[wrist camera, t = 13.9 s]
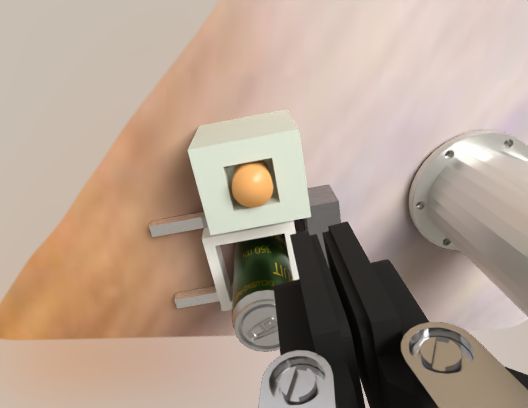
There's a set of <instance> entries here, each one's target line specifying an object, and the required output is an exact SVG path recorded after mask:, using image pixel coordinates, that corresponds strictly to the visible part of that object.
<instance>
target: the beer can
mask: <svg viewBox="0 0 528 408" xmlns="http://www.w3.org/2000/svg"><path fill="white" fill-rule="evenodd" d="M289 281H293V275H292V270H291V266H290V261H289V256H288V251H287V247H286V243H285V241H284V239H283V237H282V236H281V235H280V234H278V235H273V236H267V237H262V238H257V239H251V240H246V241H240V242H236V244H235V249H234V273H233V299H232V322H233V327H234V328H235V333H236V336H237V338H238V339H239V341H240V342H241V343H242V344H244V345H245V346H246V347H248V348H250V349H253V350H255V351H263V352H268V351H276V350H278V349H280V344H279V335H278V325H277V316H276V307H275V297H274V285H276V284H280V283H284V282H289Z"/></svg>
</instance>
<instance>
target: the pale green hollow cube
mask: <svg viewBox="0 0 528 408" xmlns="http://www.w3.org/2000/svg"><path fill="white" fill-rule="evenodd" d="M187 151H188V154H189V158H190V162H191V165H192V169H193V173H194V176H195V180H196V184H197V187H198V191H199V195H200V198H201V202H202V206H203V209H204V213H205V217H206V220H207V224H208V228H209V231H210V235H216V234H221V233H227V232H232V231H238V230H243V229H248V228H254V227H259V226H265V225H270V224H276V223H281V222H287V221H292V220H298V219H303V218H309V217H311V211H310V204H309V197H308V190H307V183H306V175H305V168H304V161H303V154H302V147H301V140H300V133H299V128H298V127H297V125H296V123H295V122H294V120H293V118H292V117H291V115H290V114H289V112H288V110H287V109H284V110H279V111H274V112H268V113H263V114H258V115H253V116H247V117H242V118H237V119H232V120H226V121H221V122H216V123H211V124H205V125H200V126H199V127H198V129H197V132H196V134H195V136H194V138H193V140H192V142H191V144H190V146H189V148H188V150H187ZM258 160H260V161H262V162H264V163H265V164H266V165H267V166H268V168H269V170H270V173H271V178H272V183H273V193H272V196H271V198H270V199H269V200H268V201H267V202H266V203H265V204H263V205H262V206H259V207H246V206H243V205H241V204H240V203H239V202H237V201H236V199H235V198H234V196H233V193H232V178H233V171H234V169H235V167H236V166H237V165H238V164H242V163H247V162H252V161H258Z"/></svg>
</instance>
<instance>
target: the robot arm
mask: <svg viewBox="0 0 528 408" xmlns="http://www.w3.org/2000/svg"><path fill="white" fill-rule="evenodd" d="M446 152H447V153H446ZM445 153H446V154H445ZM409 211H410V216H411V218H412V221H413V223H414V225H415V227H416V228H417V229H418V230H419V232H420V233H421V234H422V235H423V236H424V237H425V238H426V239H427V240H428V241H430V242H432V243H433V244H435V245H437V246H439V247H442V248H445V249H451V250H460V251H461V252H462V253H463V254H464V255H465V256H466V257H467V258H468V259H469V260H470V261H471V262H472V263H474V264H475V265H476V266H477V267H478V268H479V269H480V270H481V271H482V272H483V273H484V274H485V275H486V276H487V277H488V278H489V279H490V280H491V281H492V282H493V283H494V284H495V285H496V286H497V287H498V288H499V289H500V290H501V291H502V292H503V293H504V294H505V295H506V296H507V297H508V298H509V299H510V300H511V301H512V302H513V303H514V304H515V305H516V306H517V307H518V308H519V309H520V310H521V311H522V312H523V313H525V314H526V315H527V316H528V145H527V144H526V143H525V142H523V141H522V140H520V139H518V138H517V137H515V136H512V135H510V134H507V133H504V132H500V131H495V130H478V131H473V132H468V133H465V134H462V135H460V136H457V137H455V138H453V139H451V140H449V141H448V142H446V143H444V144H443V145H441V146H440V147H439V148H438V149H436V150H435V151H434V152H433V153H432V154H431V155H430V156H429V157H428V158H427V159H426V160H425V161H424V163H423V164H422V166H421V167H420V169H419V170H418V172H417V173H416V176H415V178H414V180H413V182H412V185H411V189H410V194H409ZM328 229H329V231H327V232H322V235H323V240H324V245H325V250H326V255H327V260H328V264H327V261H326V259H325V256H324V253H323V250H322V247H321V245H320V242H319V239H318V236H317V234H314V235H309V232H308V231H304V232H300V233H296V234H292V235H290V238H291V243H292V247H293V252H294V256H295V261H296V266H297V270H298V275H299V279H298V280H293V281H289V282H284V283H280V284H276V285H274V297H275V307H276V316H277V325H278V335H279V344H280V353H281V356H279V357H278V358H276V359H275V360H274V361H273V362H272V363H271V364H270V365H269V366H268V368H267V369H266V371H265V372H264V375H263V378H262V382H261V389H260V397H259V405H258V408H365V404H364V398H363V393H362V387H361V382H362V385H363V388H364V391H365V394H366V397H367V400H368V403H369V406H370V408H528V375H526V374H523V373H521V372H518V371H515V370H512V369H509V368H507V367H504V366H503V365H502V364H501V363H500V362H499V361H498V360H497V359H496V358H495V357H494V356H493V355H492V354H491V353H490V352H489V351H488V350H487V349H486V348H485V347H484V346H483V345H482V344H481V343H479V341H478V340H476V338H474V337H473V336H472V335H471V334H469V333H468V332H467V331H465V330H464V329H462V328H459V327H457V326H455V325H452V324H447V323H443V322H429V321H428V319H427V318H426V316H425V315H424V313H423V311H422V310H421V308H420V307H419V305H418V304H417V302H416V301H415V299H414V298H413V296H412V294H411V293H410V291H409V290H408V288H407V287H406V285H405V284H404V282H403V280H402V279H401V277H400V276H399V274H398V273H397V271H396V270H395V268H394V266H393V265H392V263H391V262H390V261H389V260H382V261H378V262H373V263H370V261H369V260H368V258H367V256H366V254H365V252H364V250H363V249H362V247H361V245H360V243H359V241H358V240H357V238H356V236H355V234H354V232H353V230H352V229H351V227H350V225H349V223H348V222H343V223H339V224H335V225H330V226H328ZM328 265H329V267H328ZM359 376H360V377H359ZM360 379H361V382H360Z"/></svg>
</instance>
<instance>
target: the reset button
mask: <svg viewBox="0 0 528 408" xmlns="http://www.w3.org/2000/svg"><path fill="white" fill-rule="evenodd" d="M232 193H233V196H234V198H235V199H236V201H237V202H239V203H240V204H241V205H243V206H246V207H259V206H262V205H263V204H265V203H266V202H267V201H268V200H269V199H270V198H271V196H272V193H273V183H272V178H271V173H270V170H269V168H268V166H267V165H266V164H265V163H264V162H262V161H260V160H258V161H252V162H247V163H242V164H238V165H237V166H236V167H235V169H234V171H233V178H232Z"/></svg>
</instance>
